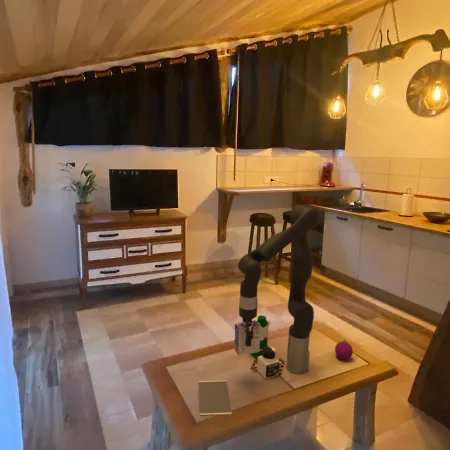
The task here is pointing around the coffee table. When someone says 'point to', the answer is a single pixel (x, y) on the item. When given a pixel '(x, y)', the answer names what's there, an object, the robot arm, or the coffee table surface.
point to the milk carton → (262, 333)
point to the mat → (214, 398)
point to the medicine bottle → (268, 363)
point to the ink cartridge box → (241, 340)
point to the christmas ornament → (343, 350)
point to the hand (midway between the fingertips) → (247, 341)
